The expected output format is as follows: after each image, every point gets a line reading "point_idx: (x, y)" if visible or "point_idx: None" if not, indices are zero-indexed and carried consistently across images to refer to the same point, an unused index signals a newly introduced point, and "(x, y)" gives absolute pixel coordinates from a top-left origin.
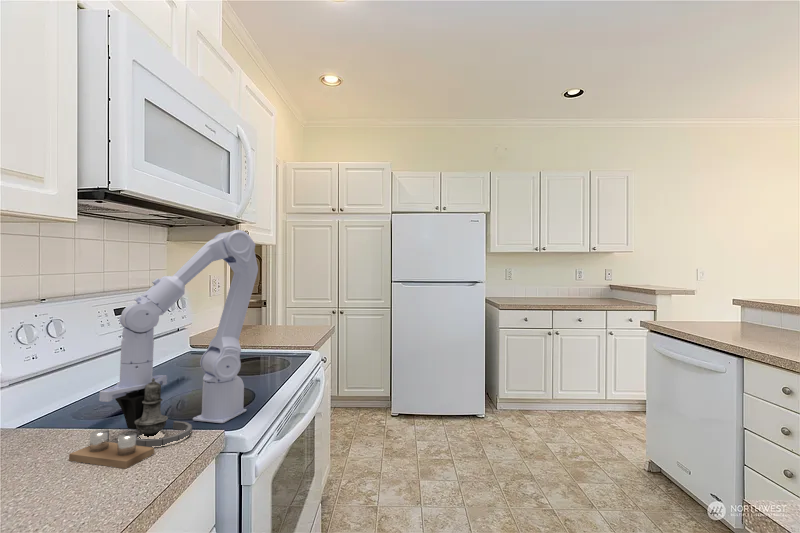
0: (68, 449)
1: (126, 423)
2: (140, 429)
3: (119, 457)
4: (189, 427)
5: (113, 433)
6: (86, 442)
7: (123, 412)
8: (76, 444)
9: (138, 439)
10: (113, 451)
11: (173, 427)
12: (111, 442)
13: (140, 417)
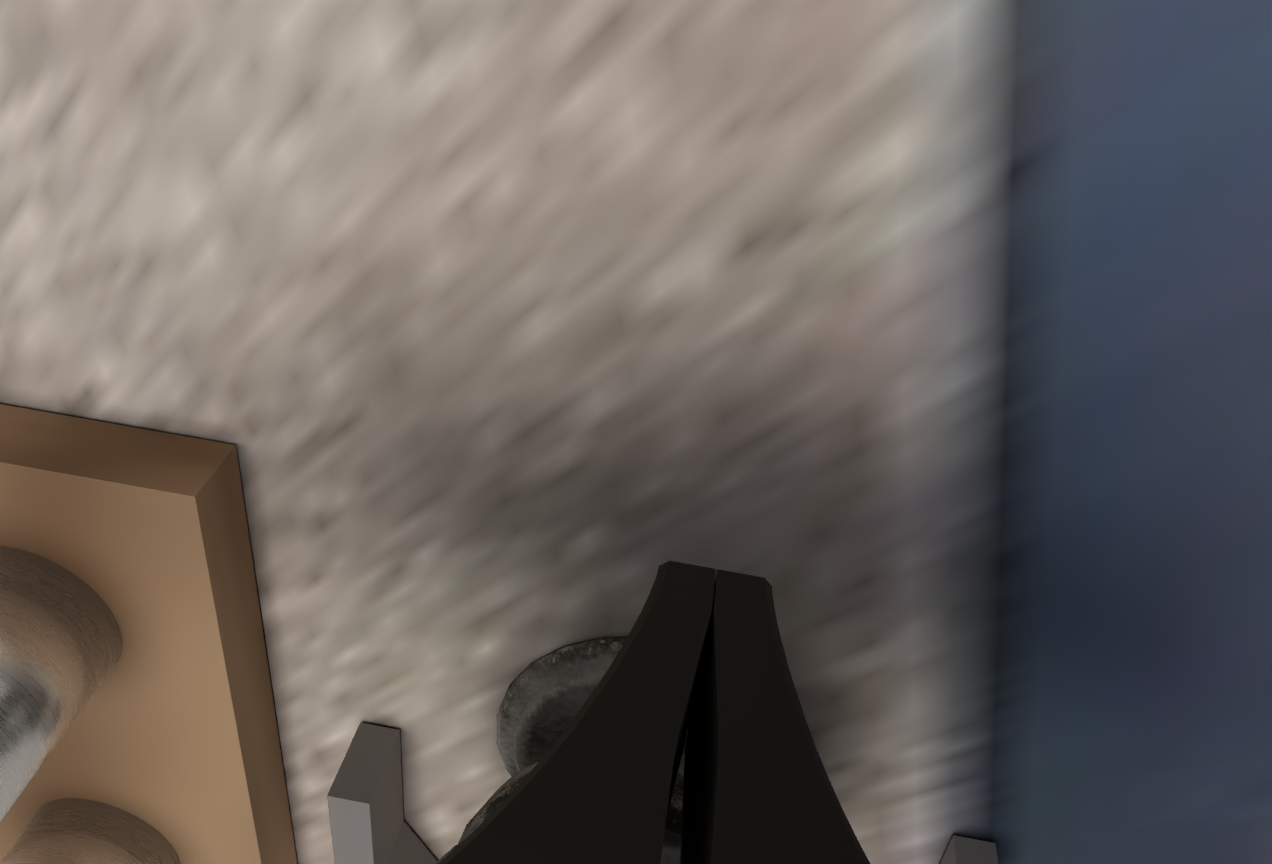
0: (13, 72)
1: (644, 605)
2: None
3: (11, 845)
4: None
5: (732, 251)
6: (300, 118)
7: (556, 745)
8: (184, 23)
9: (346, 836)
10: (64, 756)
11: (950, 858)
12: (216, 625)
13: (683, 830)
